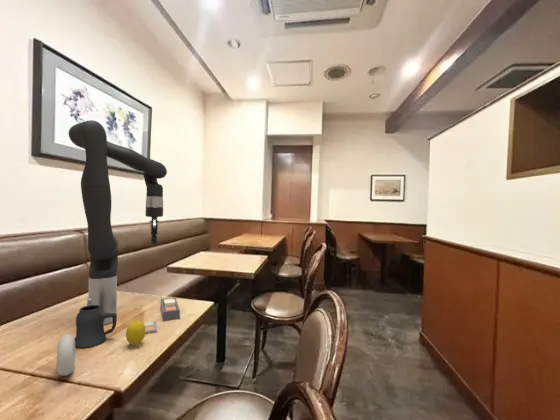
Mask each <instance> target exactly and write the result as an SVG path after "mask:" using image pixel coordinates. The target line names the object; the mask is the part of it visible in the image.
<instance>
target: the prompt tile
mask: <svg viewBox="0 0 560 420" xmlns="http://www.w3.org/2000/svg"><path fill="white" fill-rule="evenodd" d="M142 323H143V324H144V326H145V335H149V334H154V333H157V332H158V329H157V321H155V320H154V321H147V322H142Z"/></svg>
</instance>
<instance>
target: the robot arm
mask: <svg viewBox="0 0 560 420" xmlns="http://www.w3.org/2000/svg"><path fill="white" fill-rule="evenodd" d="M68 137H69V140H70V141H71V143H73V144H74V145H75V146H76V147H79V148H80V149H84V151H85V164H84V168H83V170H82V175H81V178H80V189H81V198H82V204H83V208H84V215H85V218H86V223H87V252H88V253H89V255H90V256H89V257H90V258H89V260H90V261H89V269H88V298H87V300H86V306H88V305H100V306H101V309H102V310H103V311H105V312H106V313H116V314H117V303H118V302H117V300H118V298H117V297H118V296H117V295H118V293H117V291H118V267H119V266H118V265H119V262H118V261H119V243H118V240H117V238H116V237H115V236H114V233H113V228H112V224H111V223H112V221H111V217H112V215H111V214H112V193H111V192H112V191H111V184H110V177H109V175H110V174H109V167H108V158H110V159H112V160H114V161H117V162H119V163H121V164H123V165H125V166H126V167H129V168H132V169H133V170H135V171H137V172H142V173H143V178H144V184H145V187H146V197H145V217H148V218H151V220H149V230H150V235H151V236H150V237H151V238H150V239H151V242H150V243H151V244H152V245H156V244H157V240H158V239H157V237H158V231H159V225H160V220H158V218H162V217H163V216H164V198H163V196H164V187H163V185H162V184H159V182H158V180H160V179H163V178H165V177H166V176H167V174H168V169H167V168H166V166H165V165H164V164H163V163H161V162H159V161H157V160H155V159H152V158H148V157H145V156H144V155H142V154H141V153H139V152H137V151H135V150H133V149H131V148H129V147H124V146H122V145H118V144H115V143H112V142H110V141H108V138H107V132H106V129H105V127H104V126H103V124H101V123H100V122H99V121H96V120H86V121H85V120H84V121H82V122H79V123H76V124H74V125H72V126H71V127H70V128H69V130H68ZM111 323H113V318H112V317H109V318H104V322H103V325H108V324H111Z"/></svg>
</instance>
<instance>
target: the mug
mask: <svg viewBox="0 0 560 420" xmlns="http://www.w3.org/2000/svg"><path fill="white" fill-rule="evenodd" d="M116 313H117V312H116ZM116 313H106V312H105V311H103V310H102V309H101V306H100V305H88V306H87V305H84V306H81V307H80V309H79V312H78V313H77V314H76V316H75V327H76V328H75V330H76V331H75V333H76V334H75V336H74V338H75V350H76V349H77V350H84V349H85V350H86V349H91V348H95V347H98V346H99V345H103V344H104V343H105V342H106V341H107V336H106V335H108V334H112V333H113V331H114V330H115V328H117V327H116V326H117V320H118V319H117V317H118V316H117V314H116ZM109 317H112V318H113V322H112V325H111V328H110V329H107V330H106V331H105V326H104V325H105V324H104V325H103V322H104V318H109Z"/></svg>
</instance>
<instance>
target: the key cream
mask: <svg viewBox="0 0 560 420" xmlns="http://www.w3.org/2000/svg"><path fill="white" fill-rule="evenodd" d="M167 306H175V300H174V299H172V300H164V307H167Z"/></svg>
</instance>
